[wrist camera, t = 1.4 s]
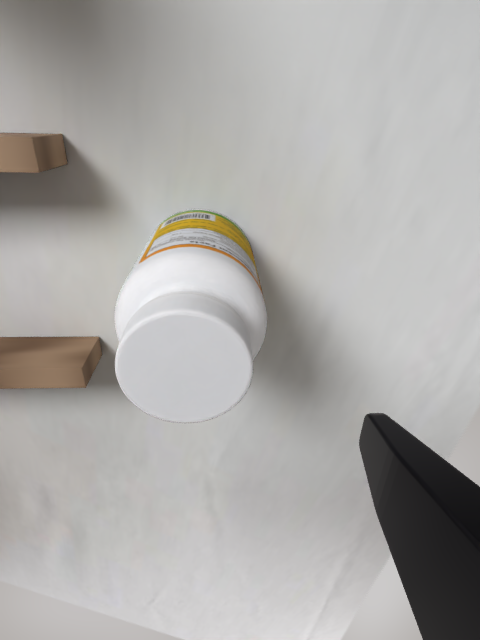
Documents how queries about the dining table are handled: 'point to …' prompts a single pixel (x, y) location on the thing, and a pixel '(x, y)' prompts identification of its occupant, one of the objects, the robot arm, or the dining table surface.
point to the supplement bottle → (190, 319)
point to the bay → (42, 352)
